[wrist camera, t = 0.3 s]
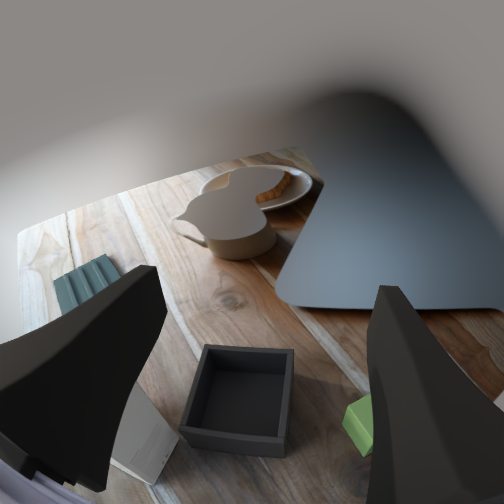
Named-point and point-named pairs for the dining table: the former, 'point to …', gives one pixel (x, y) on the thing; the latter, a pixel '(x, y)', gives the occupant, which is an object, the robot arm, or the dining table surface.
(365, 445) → the block
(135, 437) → the small box
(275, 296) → the dining table surface
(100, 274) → the drainboard
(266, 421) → the dark grey open tray
